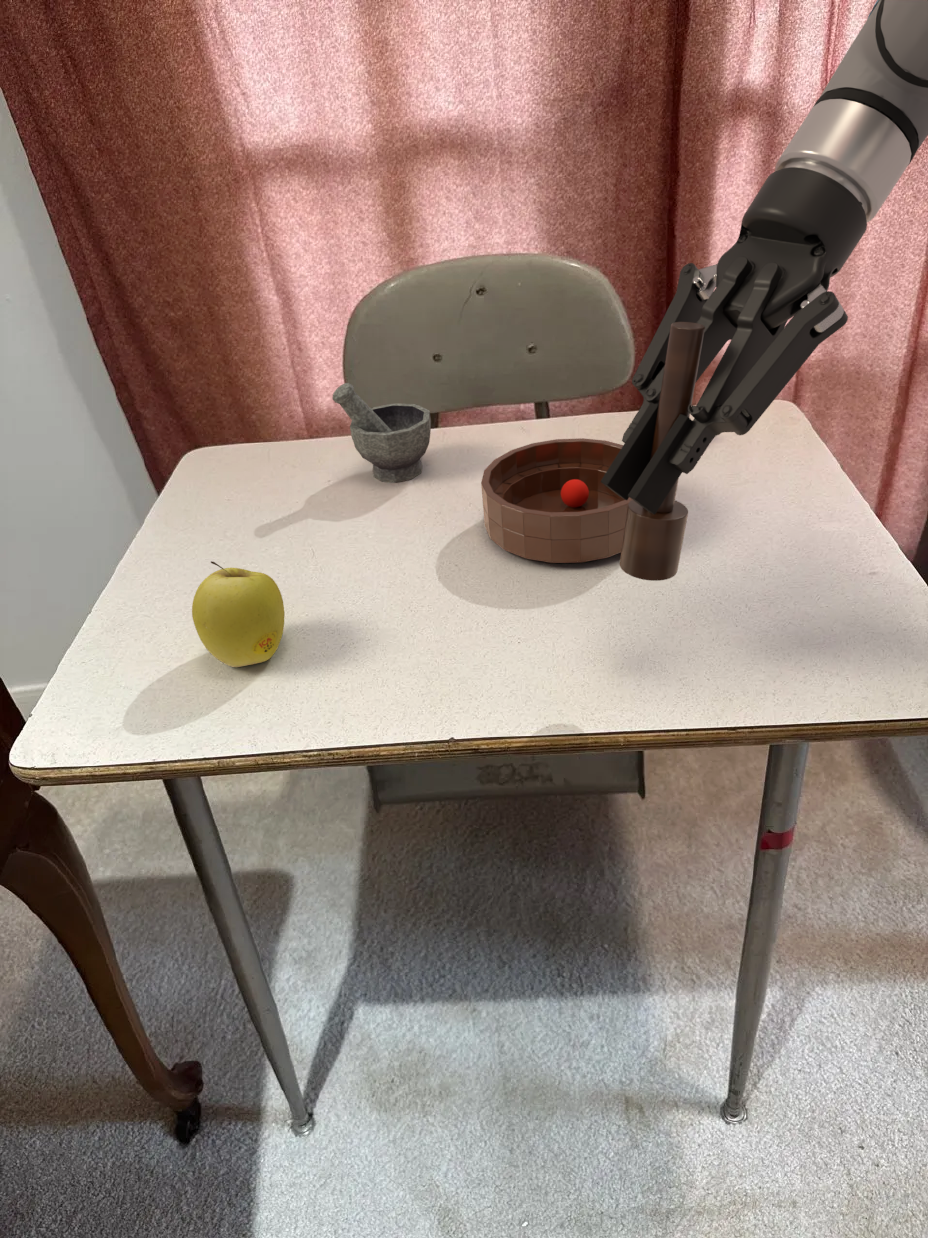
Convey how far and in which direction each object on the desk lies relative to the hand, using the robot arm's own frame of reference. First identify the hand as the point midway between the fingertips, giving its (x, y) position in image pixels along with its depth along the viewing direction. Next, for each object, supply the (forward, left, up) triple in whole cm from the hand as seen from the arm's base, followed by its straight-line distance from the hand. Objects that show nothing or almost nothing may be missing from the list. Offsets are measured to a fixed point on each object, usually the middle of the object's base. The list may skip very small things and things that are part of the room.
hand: (627, 497), depth 60 cm
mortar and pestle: (+38, +27, -16) cm, 50 cm away
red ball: (+27, +4, -14) cm, 31 cm away
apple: (+2, +33, -16) cm, 37 cm away
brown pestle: (+1, -2, -7) cm, 7 cm away
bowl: (+24, +5, -16) cm, 30 cm away
